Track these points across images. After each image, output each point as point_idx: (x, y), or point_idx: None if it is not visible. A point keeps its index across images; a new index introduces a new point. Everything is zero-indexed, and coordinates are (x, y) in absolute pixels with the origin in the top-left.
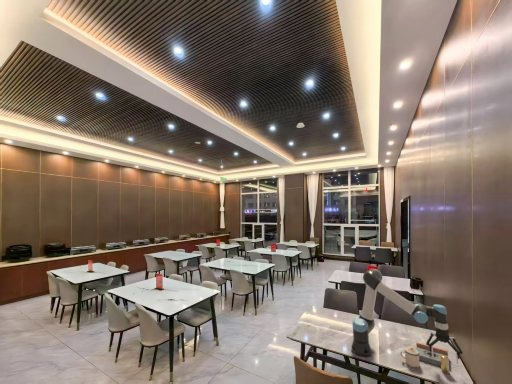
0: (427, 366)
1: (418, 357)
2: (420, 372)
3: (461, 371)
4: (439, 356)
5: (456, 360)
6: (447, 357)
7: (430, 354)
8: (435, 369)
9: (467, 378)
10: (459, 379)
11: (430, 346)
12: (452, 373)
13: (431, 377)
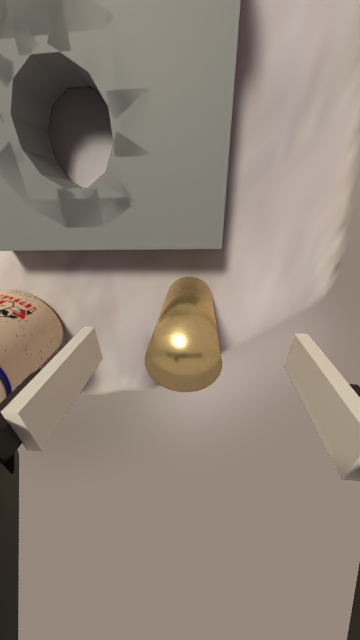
0: (95, 300)
1: (24, 374)
2: None
3: (303, 214)
4: (139, 117)
5: (298, 373)
6: (215, 362)
7: (49, 73)
8: (138, 307)
9: (310, 296)
10: (255, 334)
11: (8, 460)
12: (229, 291)
13: (133, 386)
